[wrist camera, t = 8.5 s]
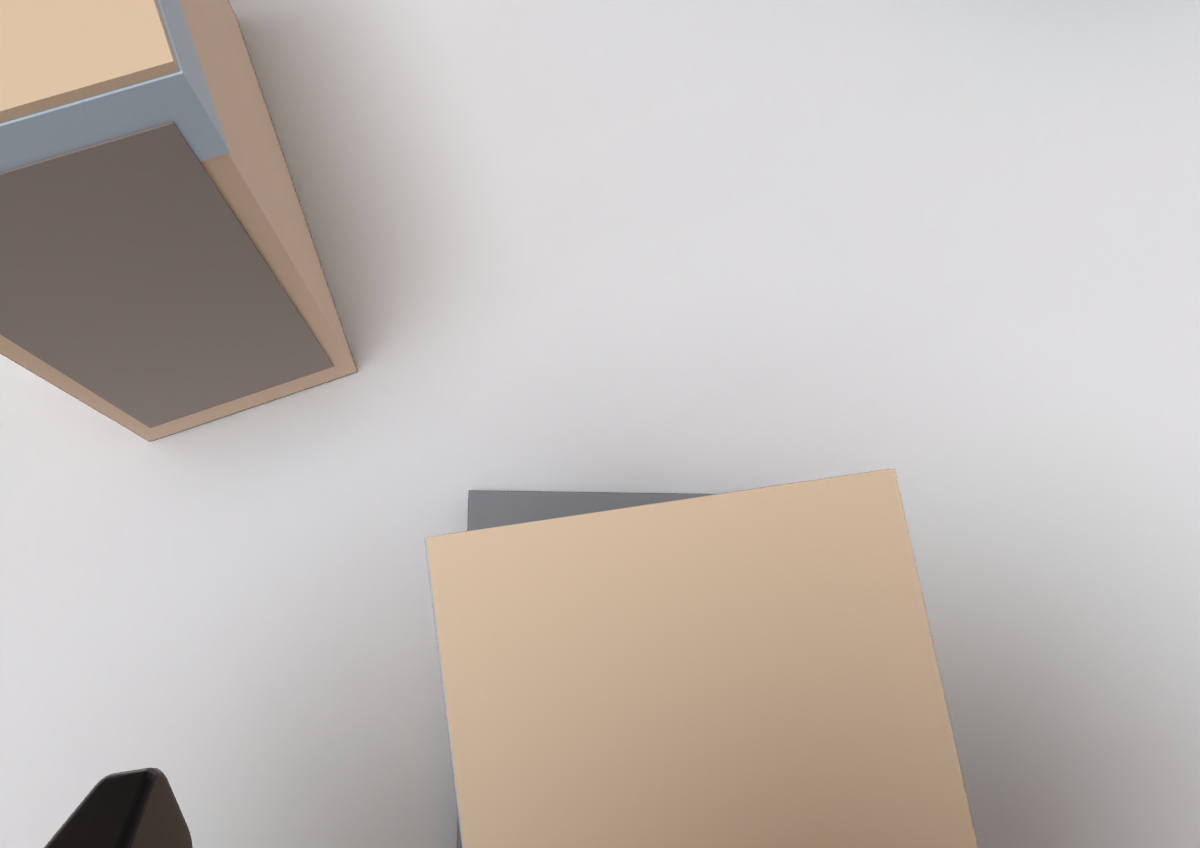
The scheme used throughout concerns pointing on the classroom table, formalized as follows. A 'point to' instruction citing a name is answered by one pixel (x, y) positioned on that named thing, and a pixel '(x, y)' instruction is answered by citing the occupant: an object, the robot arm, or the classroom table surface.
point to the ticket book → (152, 217)
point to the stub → (698, 676)
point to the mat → (549, 511)
